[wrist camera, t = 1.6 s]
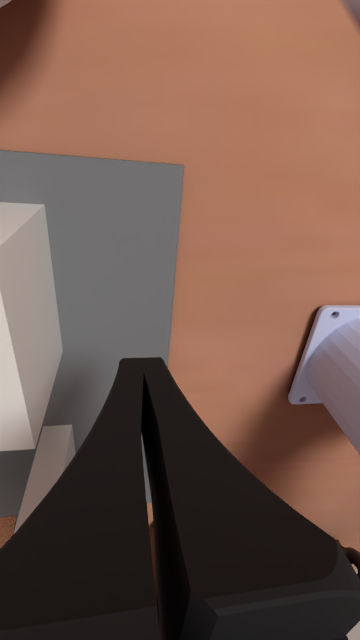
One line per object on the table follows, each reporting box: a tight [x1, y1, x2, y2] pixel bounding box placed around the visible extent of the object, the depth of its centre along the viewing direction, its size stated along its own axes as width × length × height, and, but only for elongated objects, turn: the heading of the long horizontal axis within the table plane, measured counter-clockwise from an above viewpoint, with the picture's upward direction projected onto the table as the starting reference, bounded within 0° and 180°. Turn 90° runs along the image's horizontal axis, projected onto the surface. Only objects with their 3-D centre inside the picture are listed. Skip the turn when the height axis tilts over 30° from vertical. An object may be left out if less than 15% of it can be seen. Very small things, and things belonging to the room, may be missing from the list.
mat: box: [0, 150, 184, 517], centre depth 20 cm, size 15×26×1 cm, turn 175°
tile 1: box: [0, 202, 63, 451], centre depth 13 cm, size 2×8×6 cm, turn 175°
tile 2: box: [14, 425, 76, 533], centre depth 20 cm, size 2×8×6 cm, turn 175°
